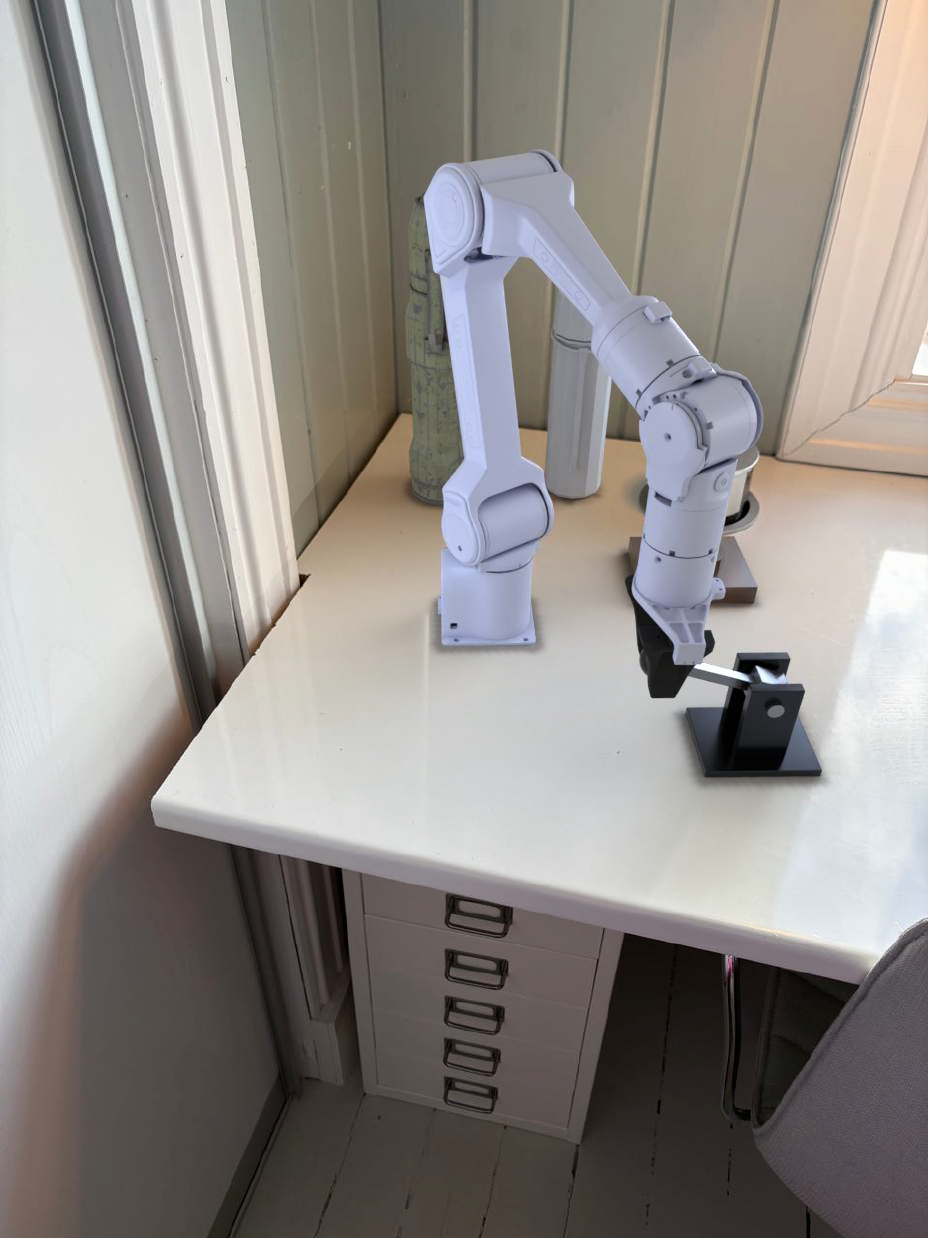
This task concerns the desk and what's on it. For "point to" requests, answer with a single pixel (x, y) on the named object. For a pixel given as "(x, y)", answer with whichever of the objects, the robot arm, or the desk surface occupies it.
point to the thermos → (429, 371)
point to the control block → (720, 570)
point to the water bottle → (575, 407)
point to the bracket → (755, 727)
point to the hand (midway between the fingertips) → (656, 674)
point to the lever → (729, 675)
